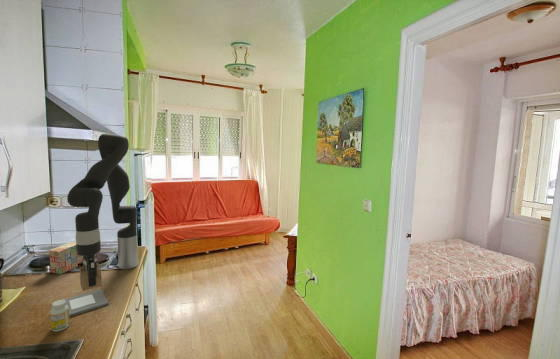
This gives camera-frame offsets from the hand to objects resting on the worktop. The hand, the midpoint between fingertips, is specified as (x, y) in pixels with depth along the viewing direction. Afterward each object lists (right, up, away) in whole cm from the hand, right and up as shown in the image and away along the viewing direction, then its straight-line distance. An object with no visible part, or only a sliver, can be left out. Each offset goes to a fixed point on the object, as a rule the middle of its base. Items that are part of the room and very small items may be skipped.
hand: (91, 282), depth 107 cm
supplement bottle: (-8, -15, -5) cm, 17 cm away
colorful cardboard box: (-39, -7, +44) cm, 59 cm away
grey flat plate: (-10, -13, +9) cm, 19 cm away
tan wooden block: (0, -1, 0) cm, 1 cm away
